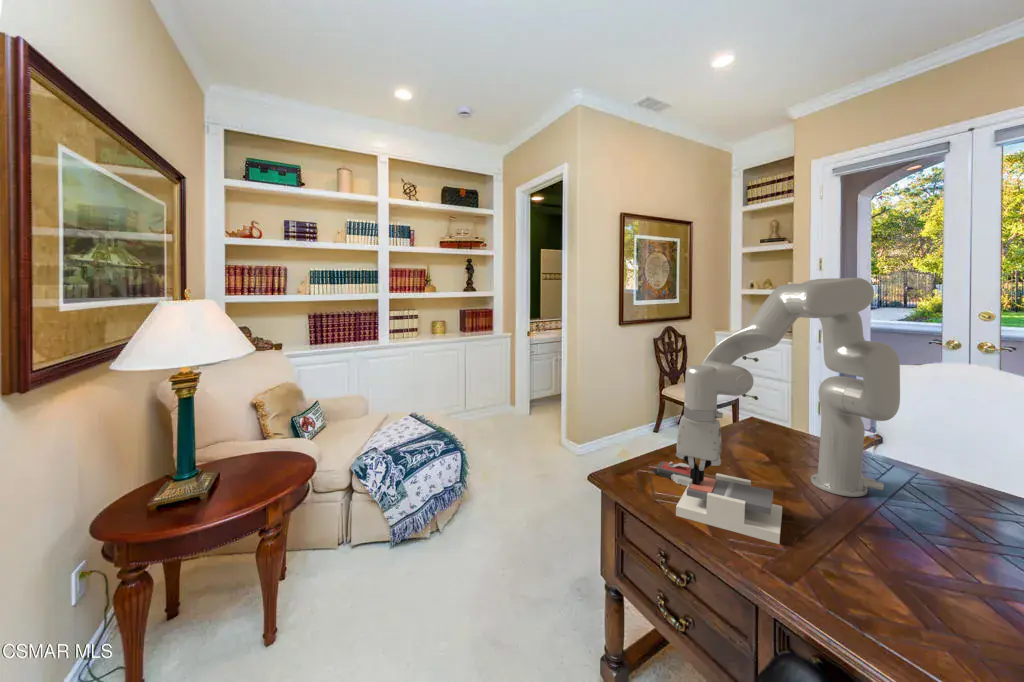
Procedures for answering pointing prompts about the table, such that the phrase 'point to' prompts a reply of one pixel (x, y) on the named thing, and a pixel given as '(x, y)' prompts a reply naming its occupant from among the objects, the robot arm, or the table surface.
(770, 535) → the switch housing
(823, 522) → the table surface
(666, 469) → the walkie-talkie
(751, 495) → the rocker
